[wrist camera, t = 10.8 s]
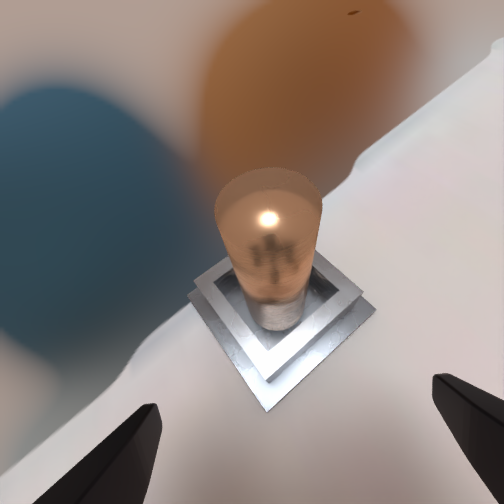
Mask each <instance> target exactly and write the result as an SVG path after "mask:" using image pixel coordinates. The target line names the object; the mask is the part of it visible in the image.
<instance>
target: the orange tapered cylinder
mask: <svg viewBox="0 0 504 504" xmlns="http://www.w3.org/2000/svg"><path fill="white" fill-rule="evenodd" d="M214 210H215V211H214V215H215V219H216V223H217V225H218V228H219V231H220V233H221V236H222V239H223V242H224V244H225V247H226V249H227V252H228V255H229V258H230V260H231V263H232V266H233V268H234V271H235V274H236V276H237V279H238V282H239V285H240V287H241V290H242V293H243V295H244V298H245V301H246V303H247V306H248V309H249V311H250V314H251V316H252V318H253V319H254V321H255V322H256V323H257V324H259V325H260V326H262V327H263V328H266V329H269V330H274V331H279V330H285V329H287V328H290V327H291V326H293V325H294V324H296V323H297V322H298V320H299V319H300V318H301V316H302V314H303V311H304V306H305V301H306V295H307V290H308V284H309V279H310V274H311V268H312V263H313V257H314V252H315V246H316V241H317V236H318V230H319V225H320V219H321V214H322V199H321V196H320V193H319V191H318V189H317V188H316V187H315V185H314V184H313V183H312V182H311V181H310V180H309V179H308V178H306V177H304V176H303V175H301V174H299V173H297V172H295V171H292V170H288V169H284V168H273V167H270V168H260V169H256V170H251V171H248V172H246V173H243V174H241V175H239V176H238V177H236V178H234V179H233V180H232V181H230V182H229V183H228V184H227V185H226V186H225V187H224V188H223V189H222V191H221V192H220V194H219V196H218V198H217V200H216V203H215V209H214Z"/></svg>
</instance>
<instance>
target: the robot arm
mask: <svg viewBox="0 0 504 504" xmlns="http://www.w3.org/2000/svg"><path fill="white" fill-rule="evenodd" d="M432 397H433V401H434V403H435V405H436V407H437V409H438V411H439V412H440V414H441V416H442V417H443V419H444V421H445V422H446V424H447V426H448V427H449V429H450V431H451V432H452V434H453V436H454V438H455V439H456V441H457V443H458V444H459V446H460V448H461V449H462V451H463V453H464V454H465V456H466V457H467V459H468V461H469V462H470V463H471V465H472V466H473V468H474V469H475V471H476V472H477V474H478V475H479V476H480V478H481V479H482V481H483V482H484V483H485V485H486V486H487V488H488V489H489V491H490V492H491V493H492V495H493V496H494V498H495V499H496V500H497V502H498V503H499V504H504V400H502V399H500V398H498V397H496V396H494V395H492V394H490V393H488V392H486V391H484V390H481V389H479V388H477V387H475V386H473V385H471V384H469V383H467V382H465V381H463V380H461V379H459V378H457V377H455V376H453V375H451V374H448V373H442V374H435V375H434V376H433V380H432ZM161 432H162V420H161V417H160V413H159V410H158V406H157V404H155V403H150V404H144V405H142V406H141V407H140V408H139V409H138V410H136V411H135V412H134V413H133V414H132V415H131V416H130V417H129V418H128V419H126V420H125V421H124V422H123V423H122V424H121V425H120V426H119V427H117V428H116V429H115V430H114V431H113V432H112V433H111V434H110V435H109V436H107V437H106V438H105V439H104V440H103V441H102V442H101V443H100V444H98V445H97V446H96V447H95V448H94V449H93V450H92V451H91V452H90V453H88V454H87V455H86V456H85V457H84V458H83V459H82V460H81V461H79V462H78V463H77V464H76V465H75V466H74V467H73V468H72V469H71V470H69V471H68V472H67V473H66V474H65V475H64V476H63V477H62V478H60V479H59V480H58V481H57V482H56V483H55V484H54V485H53V486H52V487H50V488H49V489H48V490H47V491H46V492H45V493H44V494H43V495H41V496H40V497H39V498H38V499H37V500H36V501H35V502H34V503H33V504H143V502H144V499H145V495H146V492H147V489H148V486H149V482H150V478H151V474H152V470H153V466H154V462H155V458H156V453H157V449H158V445H159V441H160V437H161Z"/></svg>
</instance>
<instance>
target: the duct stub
mask: <svg viewBox="0 0 504 504" xmlns="http://www.w3.org/2000/svg"><path fill="white" fill-rule="evenodd" d="M194 282H195V283H196V285H197V288H196V289H195V290H193V291H192V292H190V293H189V294H188V295H187V296H188V298H189V299H190V301H191V302H192V304H193V305H194V307H195V308H196V310H197V311H198V312H199V314H200V315H201V317H202V318H203V320H204V321H205V323H206V324H207V326H208V327H209V329H210V330H211V331H212V333H213V334H214V336H215V337H216V339H217V340H218V342H219V343H220V345H221V346H222V348H223V349H224V351H225V352H226V353H227V355H228V356H229V358H230V359H231V361H232V362H233V364H234V365H235V367H236V368H237V370H238V371H239V373H240V374H241V375H242V377H243V378H244V380H245V381H246V383H247V384H248V386H249V387H250V389H251V390H252V392H253V393H254V394H255V396H256V397H257V399H258V400H259V402H260V403H261V405H262V406H263V408H264V409H265V411H266V412H268V411H269V410H270V409H271V408H273V407H274V406H275V405H276V404H277V403H278V402H279V401H280V400H281V399H282V398H283V397H284V396H285V395H286V394H287V393H288V392H290V391H291V390H292V389H293V388H294V387H295V386H296V385H297V384H298V383H299V382H300V381H301V380H302V379H303V378H304V377H306V376H307V375H308V374H309V373H310V372H311V371H312V370H313V369H314V368H315V367H316V366H317V365H318V364H319V363H320V362H322V361H323V360H324V359H325V358H326V357H327V356H328V355H329V354H330V353H331V352H332V351H333V350H334V349H335V348H336V347H337V346H339V345H340V344H341V343H342V342H343V341H344V340H345V339H346V338H347V337H348V336H349V335H350V334H351V333H352V332H353V331H355V330H356V329H357V328H358V327H359V326H360V325H361V324H362V323H363V322H364V321H365V320H366V319H367V318H368V317H369V316H371V315H372V314H373V313H374V312H375V311H376V308H374V307H373V306H372V305H371V304H370V303H369V302H368V301H366V300H365V299H364V298H363V297H362V296H361V295H362V294H363V291H362V290H361V289H360V288H359V287H358V286H356V285H355V284H354V283H353V282H352V281H351V280H349V279H348V278H347V277H346V276H345V275H344V274H343V273H341V272H340V271H339V270H338V269H337V268H336V267H334V266H333V265H332V264H331V263H330V262H329V261H328V260H326V259H325V258H324V257H323V256H322V255H321V254H319V253H318V252H317V251H316V250H315V252H314V257H313V263H312V268H311V274H310V279H309V284H308V290H307V295H306V301H305V306H304V311H303V314H302V316H301V318H300V319H299V320H298V322H297V323H296V324H294V325H293V326H291V327H290V328H287V329H285V330H279V331H274V330H269V329H266V328H263V327H262V326H260V325H259V324H257V323H256V322H255V321H254V319H253V318H252V316H251V314H250V311H249V309H248V306H247V303H246V301H245V298H244V295H243V293H242V290H241V287H240V285H239V282H238V279H237V276H236V274H235V271H234V268H233V266H232V263H231V260H230V258H229V256H227V257H226V258H224V259H223V260H222V261H220V262H219V263H218V264H216V265H215V266H213V267H212V268H210V269H209V270H208V271H206V272H205V273H203V274H202V275H201V276H199V277H198V278H196V279H195V280H194Z"/></svg>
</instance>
